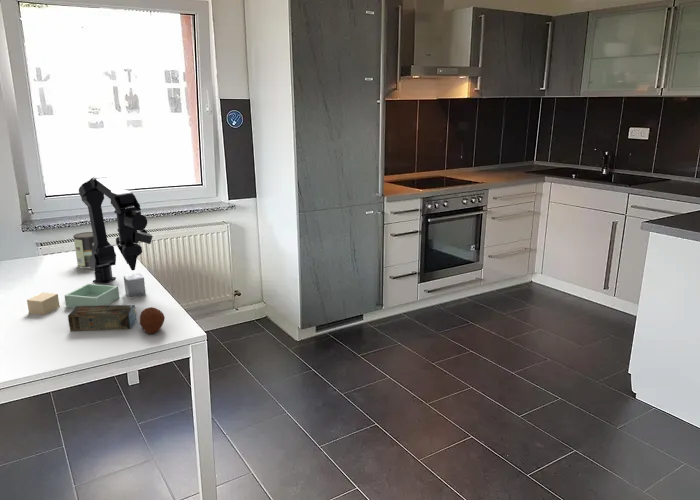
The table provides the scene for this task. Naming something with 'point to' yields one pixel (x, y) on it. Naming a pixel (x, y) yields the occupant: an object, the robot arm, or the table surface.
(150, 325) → the potato
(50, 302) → the tan rectangular block
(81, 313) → the beverage carton
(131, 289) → the tin
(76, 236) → the coffee can
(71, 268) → the table surface
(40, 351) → the table surface
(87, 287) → the tote
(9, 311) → the table surface
